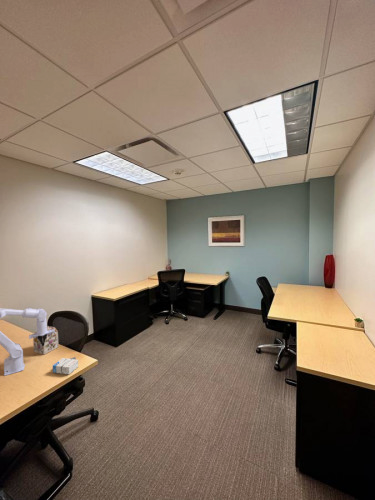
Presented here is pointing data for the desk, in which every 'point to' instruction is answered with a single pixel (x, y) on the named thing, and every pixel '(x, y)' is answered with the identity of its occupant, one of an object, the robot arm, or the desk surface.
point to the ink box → (65, 366)
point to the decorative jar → (46, 342)
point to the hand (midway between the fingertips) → (43, 345)
